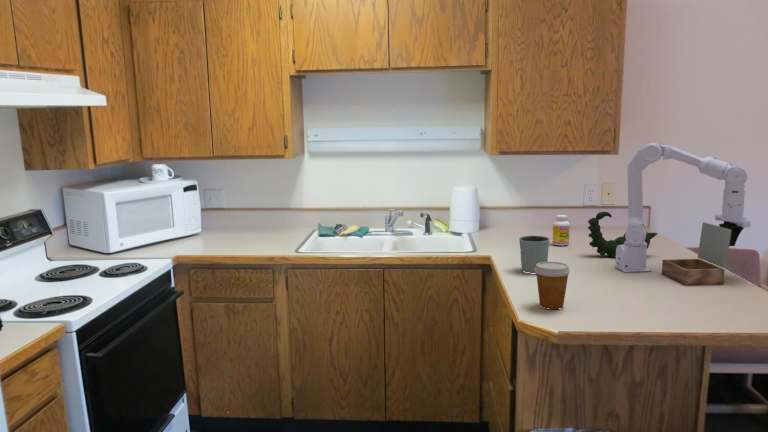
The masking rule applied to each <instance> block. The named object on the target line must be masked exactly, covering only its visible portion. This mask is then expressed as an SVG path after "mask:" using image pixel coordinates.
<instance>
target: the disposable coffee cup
mask: <svg viewBox="0 0 768 432" xmlns="http://www.w3.org/2000/svg"><path fill="white" fill-rule="evenodd" d="M535 272H536V282H537V283H536V284H537V291H538V299H539V300H538V301H539V306H540V305H541V306H542V307H545V308H549V309H559V308H562V307H563V308H564V303H565V299H566V298H565V297H566V292H567V286H568V285H567V284H568V278H569V274H570V272H571V269H570V266H569V265H568V264H567V263H564V262H560V261H547V262H540V263H537V264H536V268H535ZM542 307H541V308H542ZM563 308H562V309H563ZM549 309H548V310H549ZM559 310H560V309H559Z"/></svg>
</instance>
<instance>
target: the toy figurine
mask: <svg viewBox="0 0 768 432" xmlns="http://www.w3.org/2000/svg"><path fill="white" fill-rule="evenodd" d="M605 217H609V218H612V217H613V216H612V214H611V213H610V212H607V211H600V212H598V213H597V214H596V215H595V217H592V218H590V219H588V220H587V222H588V224H589V226H588V227H587V228H588V230H589V231H590V233H589V234H588V237H589V238H591V241H590V242H589V246H590V247H592V248H597V249H596V253H597V254H599V255H600V256H606V255H608V256H610V257H611V258H613V259H616V248H617V246H618V245H623V244H624V242H625V241H626V238H625V234H626V232H625V233H624V234H623V236H618V237H616V238H615V239H610V240H606V239H605V237H603V232H602V231H601V225H600V220H602V219H603V218H605ZM657 235H658V232H647V233H646V238H645V242H646V243H647V250H648V249H649V247H650V244H651V240H652V239H653V238H655V237H656V236H657Z"/></svg>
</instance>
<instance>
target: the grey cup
mask: <svg viewBox="0 0 768 432" xmlns="http://www.w3.org/2000/svg"><path fill="white" fill-rule="evenodd" d="M549 246H550V238H549V237H547V236H543V235H524V236H520V237H519V248H520V262H521V264H520V265H521V271H522V270H523V271H525V272H530V273H536V272H535V268H536V264H537V263H540V262H549V259H548V258H549Z"/></svg>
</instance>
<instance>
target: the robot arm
mask: <svg viewBox="0 0 768 432" xmlns="http://www.w3.org/2000/svg"><path fill="white" fill-rule="evenodd" d="M660 159H662V160H671V159H673V160H676V161H679V162H682V163H685V164H687V165H691V166H693V167H697V168H698V171H699V173H700V174H703V175H706V176H708V177H710V178H713V179H716V180H719V181H721V180H722V181H723V180H724V189H723V193H722V194H723V196H722V207H721V208H722V209H721V213H720V214H719V213H718V214H717V213H715V215H714V221H719V222H722V223H719V224H718V226H719V227H723V228H726V229H730V230H732V231H731V238H730V244H729V247H735V246H736V243H737V240H738V238H739V236H740V234H741V232H742V231H743V230H744V229H745V228H746V229H747V228H751V221H750V220H748V219H747V217H744V209H745V207H744V206H745V193H746V190H745V188H746V185H745V183H746V182H747V181H748V174H747V172H746V170H745V169H744V168H742V167H740V166H738V165H734V163H732V162H726V161H723V160H720V159H718V156H715V155H713V156H705V157H700V156H697V155H695V154H692V153H689V152H688V151H684V150H682V149H679V148H677V147H674V146H671V145H666V144H659V143H658V142H652V141H651V142H649V143H647V144H645V145H644V146H642V147H641V148H639V150H638V151H637V152H636V153H635V155H634V156H633V158H632V159H631V161H630V162H629V163H628V164H627V201H628V202H627V203H628V204H627V206H628V207H627V209H628V210H627V211H628V220H627V221H628V222H627V230H626V231H625V233H626V234H625V233H624V234H625V238H626V241H625V242H624V244H623V245H618V246H617V248H616V258H615V264H614V267H615V268H616V269H618V270H620V271H621V272H624V273H634V272H635V273H637V272H639V273H640V272H651V271H652V270H651V269H650V268H649V267H647V253H648V249H647V243H646V242H645V238H646V233H647V231H648V230H647V229H646V227H645V225H644V210H643V209H644V204H643V203H644V202H643V200H644V199H643V198H644V197H643V196H644V195H643V194H644V193H643V171H644V170H645V169H647V168H648V166H650V165H651V164H654V163H656V162H658V161H659V160H660Z"/></svg>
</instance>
